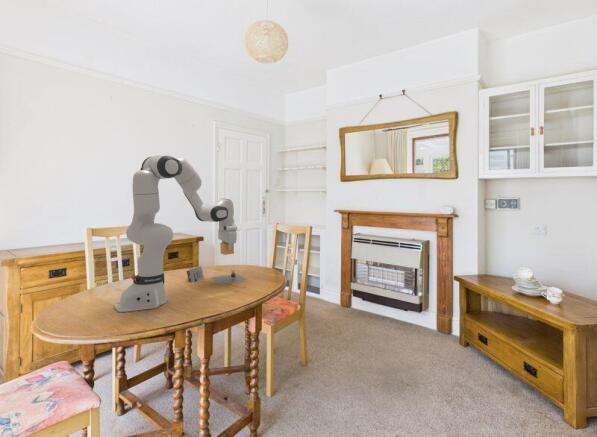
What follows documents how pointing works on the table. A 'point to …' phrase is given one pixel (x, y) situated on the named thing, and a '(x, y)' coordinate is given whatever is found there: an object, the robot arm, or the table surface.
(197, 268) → the electrical switch
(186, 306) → the table surface
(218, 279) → the board
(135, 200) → the robot arm
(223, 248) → the orange knobbed cube
